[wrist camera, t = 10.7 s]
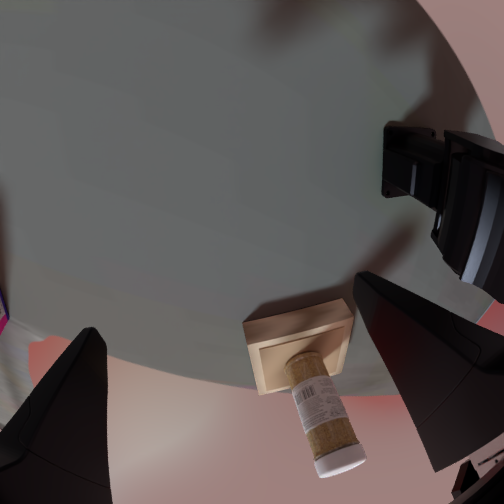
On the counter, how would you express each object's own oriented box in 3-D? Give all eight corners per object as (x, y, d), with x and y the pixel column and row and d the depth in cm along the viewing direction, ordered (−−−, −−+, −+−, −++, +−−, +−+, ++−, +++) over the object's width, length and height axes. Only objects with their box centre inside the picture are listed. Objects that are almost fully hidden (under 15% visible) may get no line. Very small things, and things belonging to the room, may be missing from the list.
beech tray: (342, 298, 28) (354, 317, 25) (333, 355, 34) (341, 373, 31) (242, 322, 27) (247, 346, 24) (254, 376, 33) (259, 396, 30)
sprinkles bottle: (293, 378, 29) (327, 478, 18) (275, 363, 27) (312, 480, 16) (327, 360, 29) (371, 460, 17) (314, 343, 26) (363, 459, 15)
